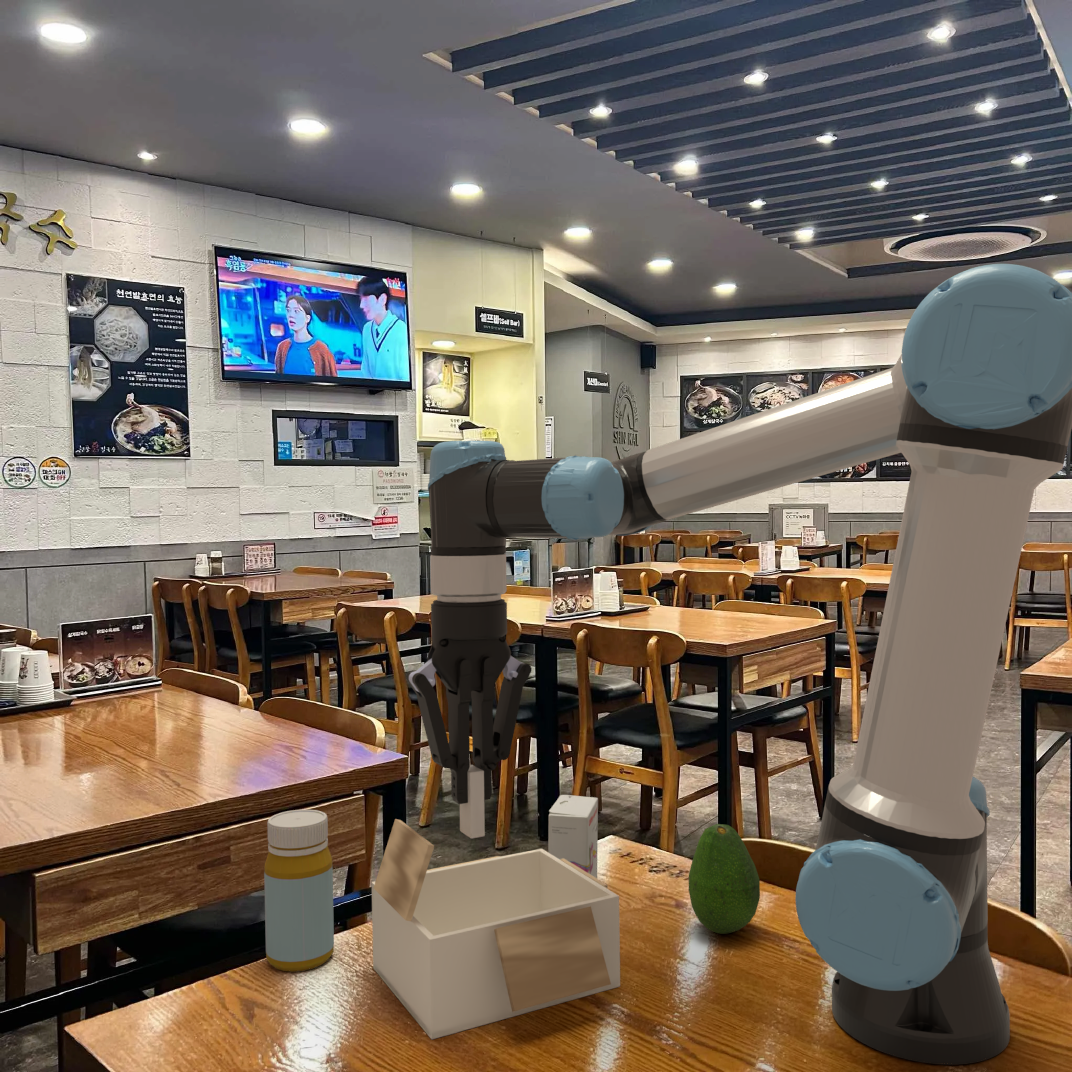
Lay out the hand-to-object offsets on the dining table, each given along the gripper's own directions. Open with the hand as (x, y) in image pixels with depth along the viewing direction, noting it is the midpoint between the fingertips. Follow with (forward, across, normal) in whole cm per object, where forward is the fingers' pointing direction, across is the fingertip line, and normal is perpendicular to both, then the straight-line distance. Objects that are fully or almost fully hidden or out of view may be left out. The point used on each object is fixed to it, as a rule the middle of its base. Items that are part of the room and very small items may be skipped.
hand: (472, 833), depth 99 cm
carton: (+15, -2, 0) cm, 15 cm away
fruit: (+15, -29, +3) cm, 33 cm away
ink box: (+15, -19, -13) cm, 28 cm away
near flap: (+6, -3, +9) cm, 11 cm away
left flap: (+6, +9, 0) cm, 10 cm away
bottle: (+15, +14, -14) cm, 25 cm away
